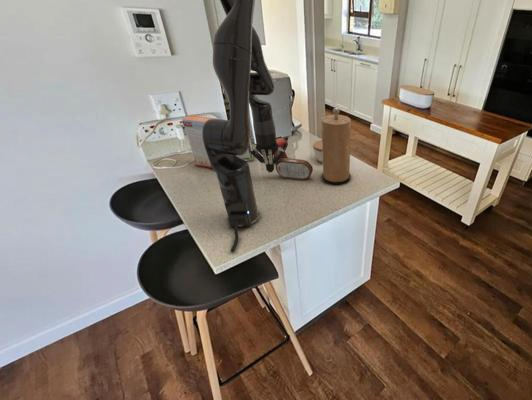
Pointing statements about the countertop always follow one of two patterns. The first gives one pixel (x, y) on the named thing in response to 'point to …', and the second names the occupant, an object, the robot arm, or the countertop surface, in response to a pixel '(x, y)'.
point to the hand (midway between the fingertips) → (270, 171)
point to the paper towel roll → (336, 148)
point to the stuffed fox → (282, 146)
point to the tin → (294, 168)
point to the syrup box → (247, 154)
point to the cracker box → (197, 138)
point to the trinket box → (318, 150)
